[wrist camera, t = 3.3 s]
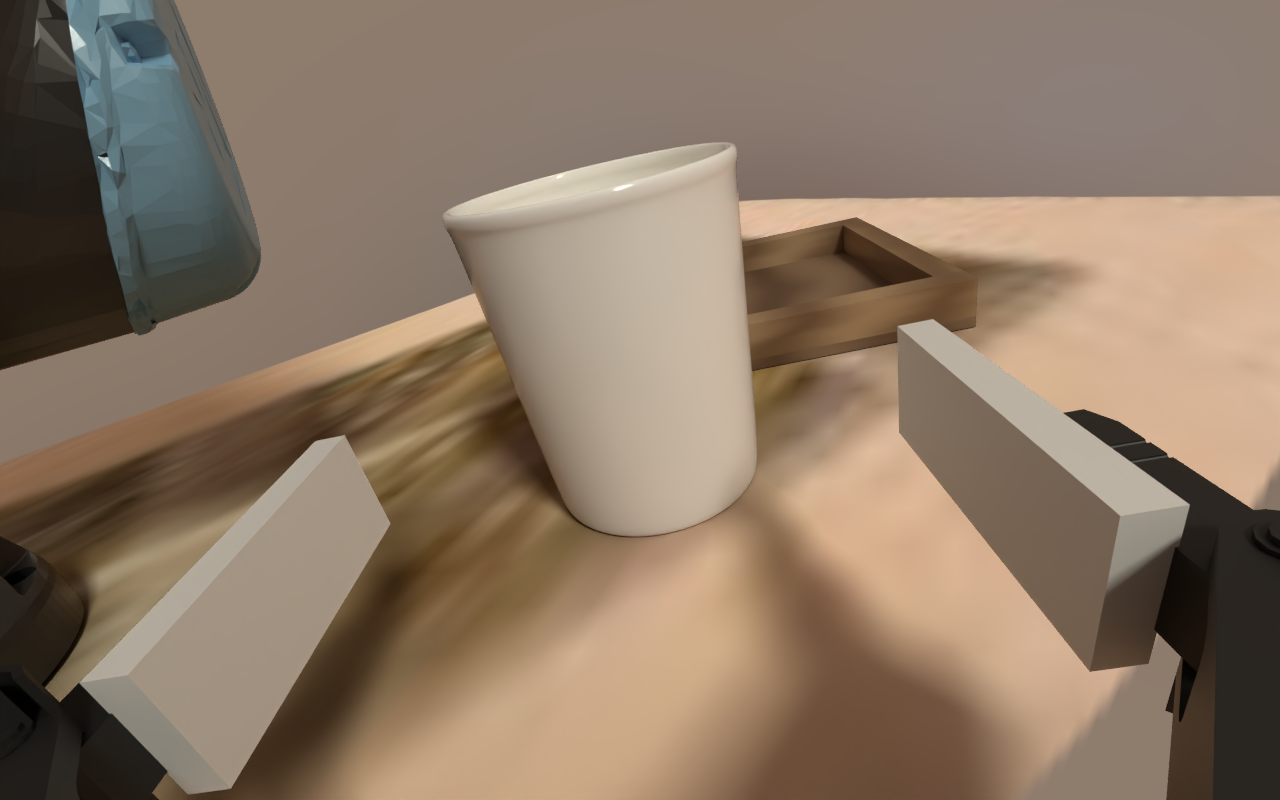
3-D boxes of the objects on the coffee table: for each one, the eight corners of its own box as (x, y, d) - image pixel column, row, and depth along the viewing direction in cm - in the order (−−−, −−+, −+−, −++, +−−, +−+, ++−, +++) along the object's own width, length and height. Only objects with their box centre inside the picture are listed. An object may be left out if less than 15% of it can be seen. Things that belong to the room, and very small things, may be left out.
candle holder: (660, 397, 31) (606, 158, 25) (826, 446, 24) (799, 127, 18) (503, 496, 25) (394, 220, 20) (656, 597, 18) (549, 211, 13)
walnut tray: (636, 393, 32) (625, 349, 30) (637, 297, 48) (630, 266, 47) (975, 326, 30) (977, 278, 29) (857, 250, 46) (856, 217, 45)
